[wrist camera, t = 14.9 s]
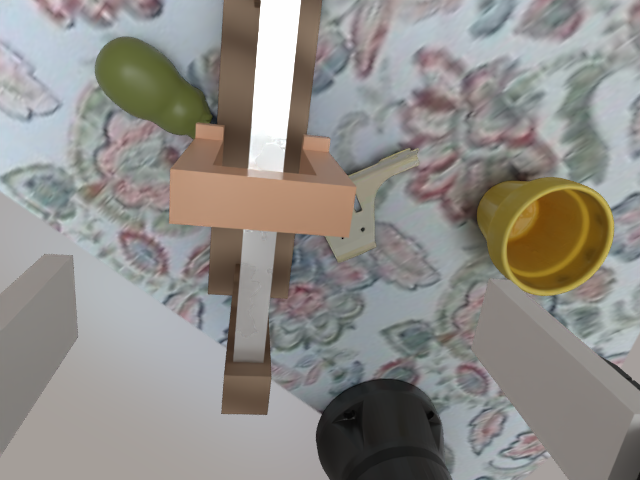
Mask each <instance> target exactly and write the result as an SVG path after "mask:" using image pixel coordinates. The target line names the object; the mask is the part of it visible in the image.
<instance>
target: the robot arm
mask: <svg viewBox="0 0 640 480" xmlns="http://www.w3.org/2000/svg"><path fill="white" fill-rule="evenodd" d="M77 338H78V329H77V313H76V298H75V282H74V267H73V255H55V254H44V255H43V256H42V257H41V258H40V259H39V260H38V261H36V262H35V263H34V264H33V265H32V266H31V267H30V268H29V269H28V270H26V271H25V272H24V273H23V274H22V275H21V276H20V277H19V278H18V279H17V280H15V281H14V282H13V283H12V284H11V285H10V286H9V287H8V288H7V289H6V290H4V291H3V292H2V293H1V294H0V456H1V455H2V453H3V452H4V450H5V449H6V447H7V446H8V444H9V443H10V441H11V440H12V438H13V436H14V435H15V433H16V431H17V430H18V429H19V427H20V426H21V424H22V423H23V421H24V420H25V418H26V416H27V415H28V413H29V412H30V410H31V409H32V407H33V406H34V404H35V403H36V401H37V399H38V398H39V396H40V395H41V393H42V392H43V390H44V389H45V387H46V385H47V384H48V383H49V381H50V379H51V378H52V376H53V375H54V373H55V372H56V370H57V369H58V367H59V365H60V364H61V362H62V361H63V359H64V358H65V356H66V355H67V353H68V351H69V350H70V349H71V347H72V346H73V344H74V342H75V341H76V339H77ZM471 350H472V351H473V352H474V354H475V355H476V356H477V358H478V359H479V360H480V362H481V363H482V364H483V366H484V367H485V368H486V370H487V371H488V372H489V374H490V375H491V376H492V378H493V379H494V380H495V382H496V383H497V384H498V386H499V387H500V388H501V390H502V391H503V392H504V394H505V395H506V396H507V398H508V399H509V400H510V402H511V403H512V404H513V406H514V407H515V408H516V410H517V411H518V412H519V414H520V415H521V416H522V418H523V419H524V420H525V422H526V423H527V424H528V426H529V427H530V428H531V430H532V431H533V432H534V434H535V435H536V436H537V438H538V439H539V440H540V442H541V443H542V444H543V446H544V447H545V448H546V450H547V451H548V452H549V454H550V455H551V456H552V458H553V459H554V460H555V462H556V463H557V464H558V466H559V467H560V468H561V470H562V471H563V472H564V474H565V475H566V476H567V478H568V479H569V480H640V385H639V384H638V383H637V382H636V381H632V378H631V377H630V376H629V375H628V374H626V373H625V372H624V371H623V370H622V369H620V368H619V367H618V366H617V365H615V364H613V363H611V362H610V361H608V360H606V359H604V358H603V357H601V356H599V355H597V354H596V353H595V352H594V351H593V350H591V349H590V348H589V347H588V346H587V345H586V344H584V343H583V342H582V341H581V340H580V339H579V338H577V337H576V336H575V335H574V334H573V333H572V332H570V331H569V330H568V329H567V328H566V327H565V326H563V325H562V324H561V323H560V322H559V321H558V320H556V319H555V318H554V317H553V316H552V315H551V314H549V313H548V312H547V311H546V310H545V309H544V308H542V307H541V306H540V305H539V304H538V303H537V302H535V301H534V300H533V299H532V298H531V297H530V296H528V295H527V294H526V293H525V292H524V291H523V290H521V289H520V288H519V287H518V286H517V285H516V284H514V283H513V282H512V281H511V280H504V279H489V281H488V285H487V289H486V293H485V296H484V300H483V304H482V308H481V312H480V316H479V320H478V324H477V328H476V332H475V336H474V340H473V344H472V347H471ZM316 443H317V449H318V455H319V459H320V462H321V465H322V467H323V469H324V471H325V472H326V474H327V476H328V477H329V479H330V480H452V478H451V476H450V474H449V471H448V469H447V467H446V465H445V451H444V438H443V428H442V423H441V420H440V417H439V415H438V413H437V411H436V409H435V407H434V405H433V403H432V402H431V400H430V399H429V398H428V396H427V395H426V394H425V393H424V392H422V391H421V390H420V389H418V388H417V387H415V386H413V385H411V384H408V383H405V382H401V381H396V380H375V381H370V382H366V383H362V384H359V385H357V386H355V387H352V388H350V389H348V390H347V391H345V392H343V393H342V394H341V395H339V396H338V397H337V398H336V399H334V400H333V401H332V402H331V403H330V404H329V406H328V407H327V408H326V410H325V411H324V412H323V414H322V416H321V418H320V420H319V423H318V427H317V431H316Z"/></svg>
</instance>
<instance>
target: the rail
mask: <svg viewBox="0 0 640 480" xmlns="http://www.w3.org/2000/svg"><path fill="white" fill-rule="evenodd" d="M300 1H301V0H261V11H260V23H259V36H258V49H257V62H256V75H255V88H254V100H253V113H252V126H251V139H250V152H249V165H248V169H256V170H266V171H276V172H283V167H284V157H285V147H286V137H287V128H288V118H289V108H290V98H291V89H292V79H293V69H294V59H295V50H296V40H297V30H298V21H299V11H300ZM276 235H277V232H271V231H258V230H246V229H243V242H242V255H241V267H240V280H239V293H238V306H237V319H236V332H235V344H234V357H233V362H252V363H263V361H264V352H265V342H266V332H267V322H268V313H269V303H270V293H271V283H272V274H273V264H274V254H275V244H276Z"/></svg>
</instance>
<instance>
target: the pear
mask: <svg viewBox="0 0 640 480" xmlns="http://www.w3.org/2000/svg"><path fill="white" fill-rule="evenodd" d="M95 76H96V79H97V82H98V84H99V86H100V87H101V89H102V90H103V91H104V93H105V94H106V95H107V96H108V97H109V98H110V99H111V100H112V101H113V102H114V103H115V104H117V105H118V106H119V107H120V108H122V109H123V110H124V111H126V112H128V113H129V114H131V115H133V116H135V117H138V118H141V119H144V120H149V121H152V122H154V123H155V124H157V125H158V126H160V127H161V128H162V129H164V130H166V131H168V132H170V133H172V134H176V135H188V136H189V137H191V138H192V139H195V135H196V123H197V122H199V123H207V124H209V123H210V122H211V120H212V117H213V116H212V115H211V113H210V110H209V107H208V104H207V102H206V101H205V96H204V94H203V93H202V91H200V90H199V89H197V88H195V87H193V86H191V85H190V84H189V83H188V82H186V81H185V80H184V79H183V78H182V77H181V76H180V75H179V73H178V71H177V70H176V68H175V67H174V65H173V64H172V63H171V62H170V61H169V60H168V59H167V58H166V57H165V56H164V55H163V54H162V53H160V52H159V51H158V50H156V49H155V48H154V47H152V46H150V45H149V44H147V43H145V42H143V41H141V40H139V39H136V38H132V37H119V38H116V39H114V40H112V41H110V42H109V43H107V44H106V45H105V46H104V47H103V48H102V50H101V51H100V53H99V54H98V57H97V59H96V63H95Z"/></svg>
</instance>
